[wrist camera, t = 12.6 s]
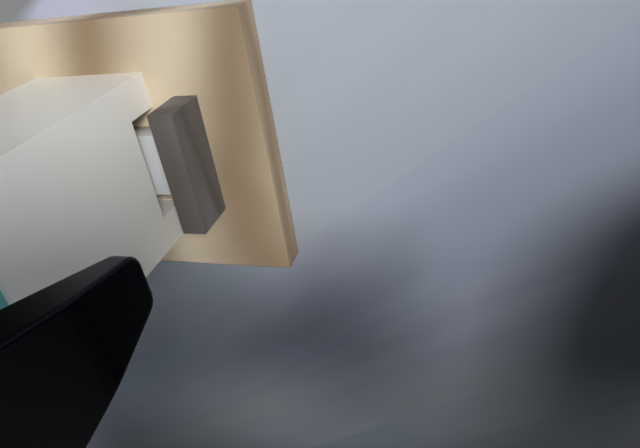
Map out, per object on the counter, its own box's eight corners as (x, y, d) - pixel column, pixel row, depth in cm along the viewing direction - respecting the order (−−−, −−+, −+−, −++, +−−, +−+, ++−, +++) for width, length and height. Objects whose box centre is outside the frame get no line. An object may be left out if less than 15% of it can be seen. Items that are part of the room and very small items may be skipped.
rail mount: (250, -1, 19) (212, 20, 17) (298, 252, 25) (275, 296, 22) (-50, 28, 23) (-117, 49, 21) (50, 239, 29) (7, 276, 27)
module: (141, 72, 21) (-60, 192, 13) (189, 226, 24) (52, 389, 17) (35, 78, 22) (-199, 189, 15) (95, 223, 26) (-68, 371, 18)
